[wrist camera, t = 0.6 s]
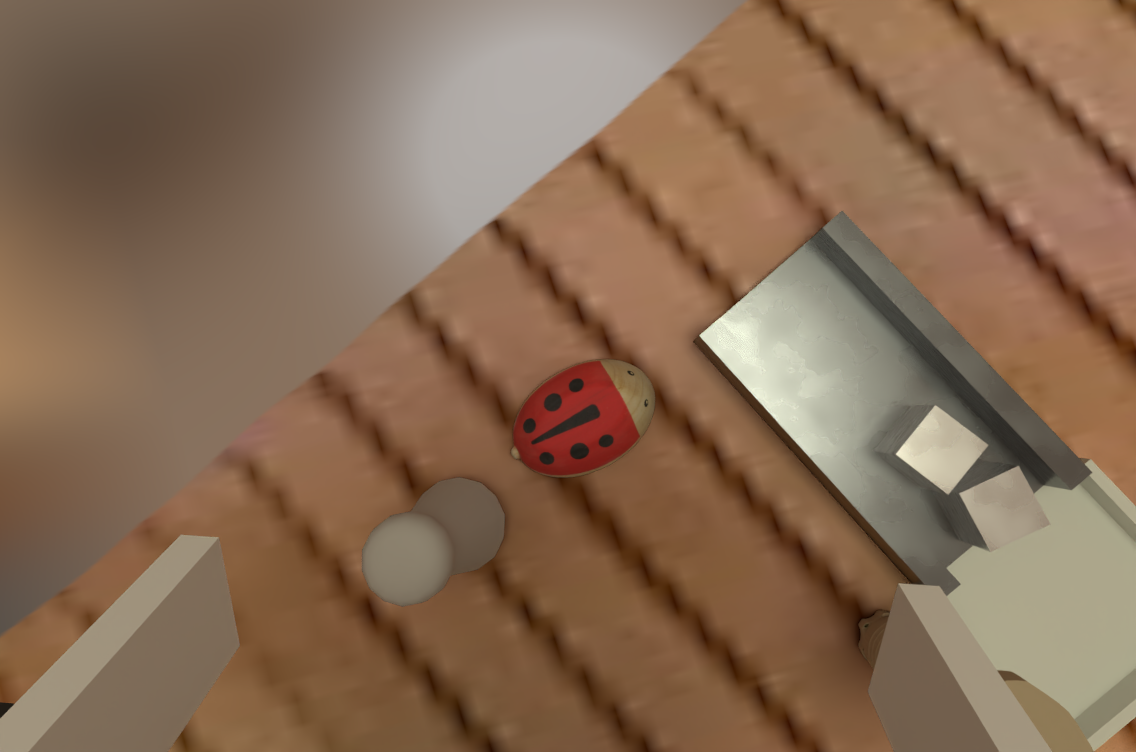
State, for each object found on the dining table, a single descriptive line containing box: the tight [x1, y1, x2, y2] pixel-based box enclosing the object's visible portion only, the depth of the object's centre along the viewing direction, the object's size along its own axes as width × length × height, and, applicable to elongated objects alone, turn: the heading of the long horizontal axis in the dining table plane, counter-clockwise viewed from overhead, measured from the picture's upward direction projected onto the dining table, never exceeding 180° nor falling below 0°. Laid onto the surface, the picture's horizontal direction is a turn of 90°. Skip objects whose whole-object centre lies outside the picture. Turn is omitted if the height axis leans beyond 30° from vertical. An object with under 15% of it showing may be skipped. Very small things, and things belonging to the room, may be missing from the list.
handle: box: [858, 610, 1094, 752], centre depth 34 cm, size 5×6×15 cm
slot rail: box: [694, 211, 1092, 596], centre depth 40 cm, size 20×11×4 cm, turn 41°
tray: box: [947, 458, 1136, 751], centre depth 39 cm, size 12×13×2 cm
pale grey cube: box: [933, 461, 1050, 552], centre depth 38 cm, size 4×4×4 cm
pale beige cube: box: [873, 405, 988, 495], centre depth 39 cm, size 4×4×4 cm
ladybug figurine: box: [511, 359, 655, 477], centre depth 42 cm, size 7×10×4 cm
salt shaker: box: [362, 477, 505, 607], centre depth 37 cm, size 6×6×13 cm
